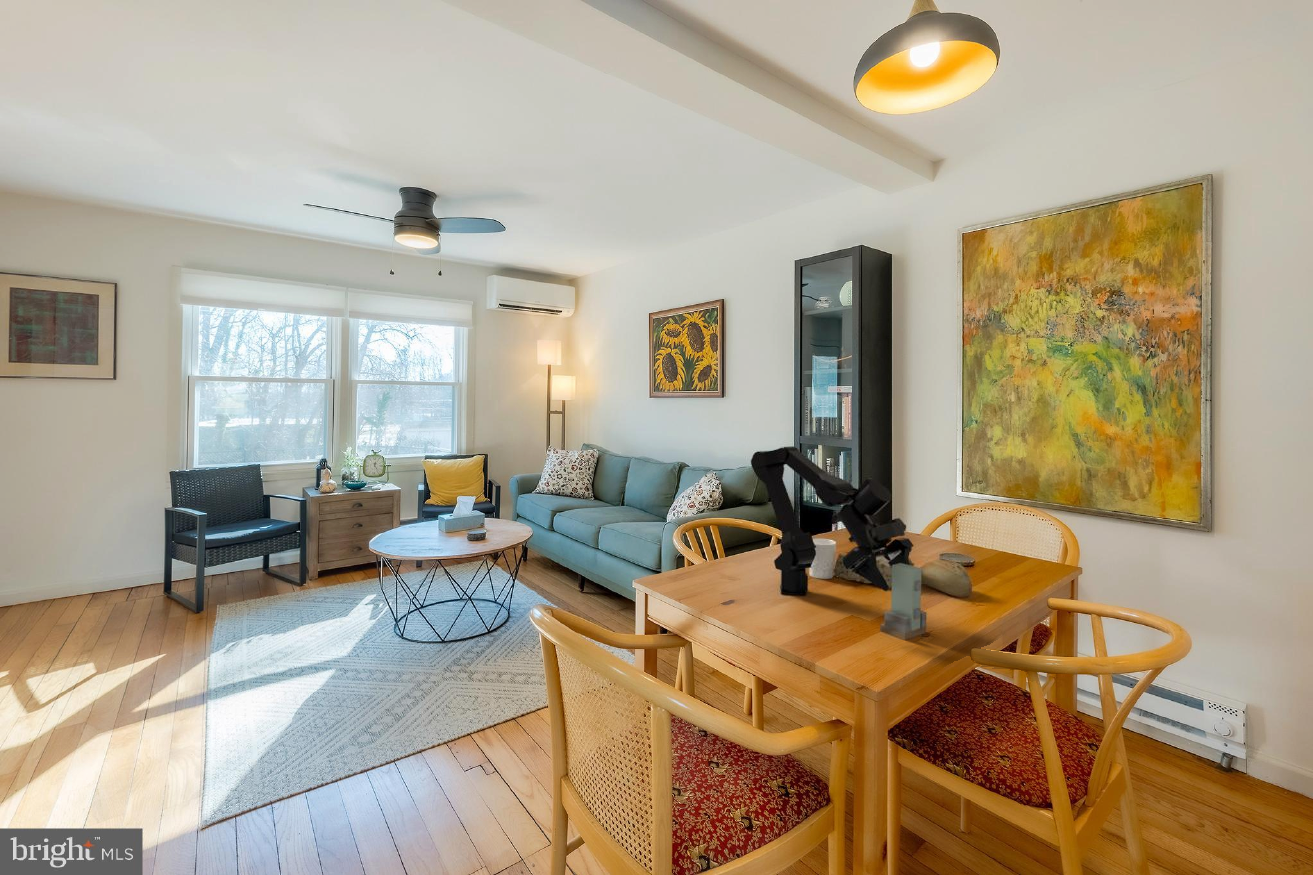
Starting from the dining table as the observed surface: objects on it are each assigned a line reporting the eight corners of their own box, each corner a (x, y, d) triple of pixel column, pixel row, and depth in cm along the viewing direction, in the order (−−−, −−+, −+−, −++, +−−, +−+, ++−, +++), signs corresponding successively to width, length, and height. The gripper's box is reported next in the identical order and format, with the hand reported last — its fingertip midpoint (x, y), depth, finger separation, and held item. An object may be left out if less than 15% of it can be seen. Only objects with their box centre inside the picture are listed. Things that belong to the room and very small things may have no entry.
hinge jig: (880, 630, 126) (880, 610, 126) (901, 623, 130) (901, 604, 130) (904, 640, 121) (905, 619, 121) (926, 632, 125) (926, 612, 125)
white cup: (805, 571, 172) (806, 538, 171) (833, 572, 171) (833, 538, 170) (808, 579, 164) (809, 544, 163) (837, 580, 163) (838, 545, 162)
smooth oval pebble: (931, 580, 163) (932, 552, 162) (982, 596, 149) (983, 565, 149) (907, 585, 159) (908, 556, 158) (957, 601, 145) (958, 570, 145)
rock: (827, 581, 165) (829, 546, 167) (852, 582, 175) (853, 549, 177) (899, 590, 150) (899, 551, 152) (921, 591, 160) (922, 554, 162)
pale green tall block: (890, 623, 126) (892, 565, 126) (899, 620, 128) (900, 563, 127) (913, 631, 122) (914, 571, 121) (921, 628, 124) (923, 568, 123)
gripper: (854, 511, 124) (898, 574, 116) (907, 503, 134) (951, 561, 126) (825, 539, 131) (864, 601, 123) (877, 529, 141) (916, 586, 133)
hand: (900, 586), depth 126 cm, fingers open, 9 cm apart
